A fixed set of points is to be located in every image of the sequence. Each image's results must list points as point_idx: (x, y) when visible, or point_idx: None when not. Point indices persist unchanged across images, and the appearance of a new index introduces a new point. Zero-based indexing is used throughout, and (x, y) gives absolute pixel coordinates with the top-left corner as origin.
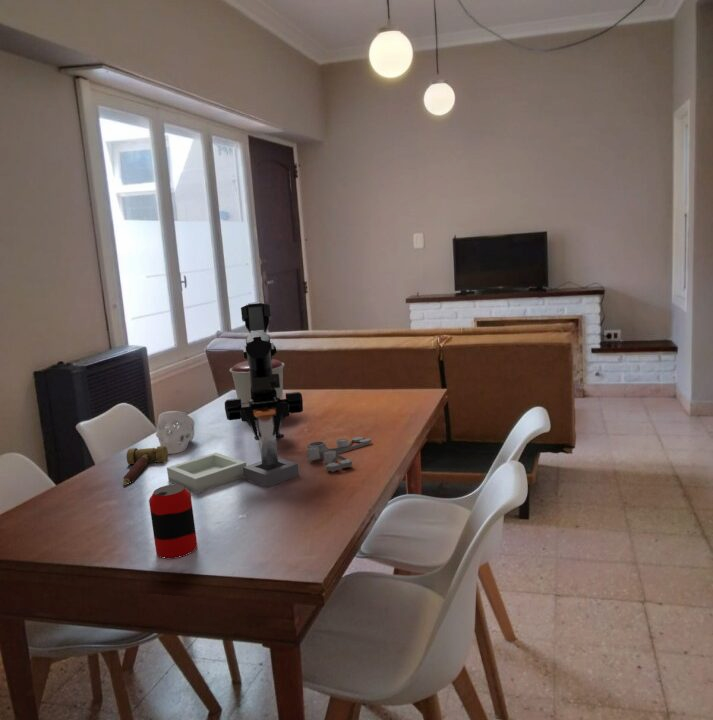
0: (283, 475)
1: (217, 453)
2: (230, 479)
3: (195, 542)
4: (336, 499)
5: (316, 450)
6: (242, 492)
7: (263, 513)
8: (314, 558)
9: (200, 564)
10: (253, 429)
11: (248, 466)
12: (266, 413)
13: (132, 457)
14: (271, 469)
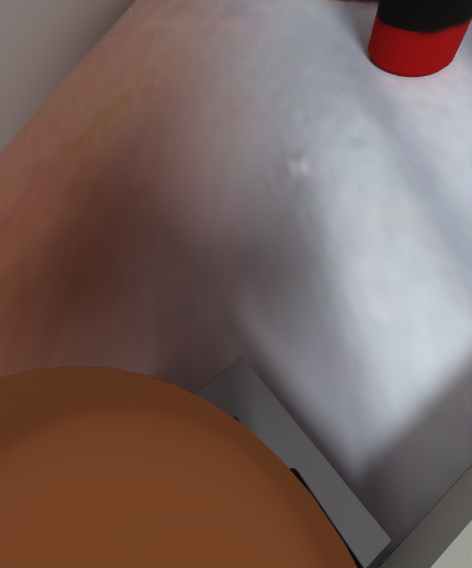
0: None
1: None
2: (441, 506)
3: (371, 37)
4: (42, 216)
5: None
6: (338, 341)
7: (243, 171)
8: (149, 20)
9: (339, 17)
10: (334, 527)
11: (358, 543)
12: (29, 374)
13: None
14: None
